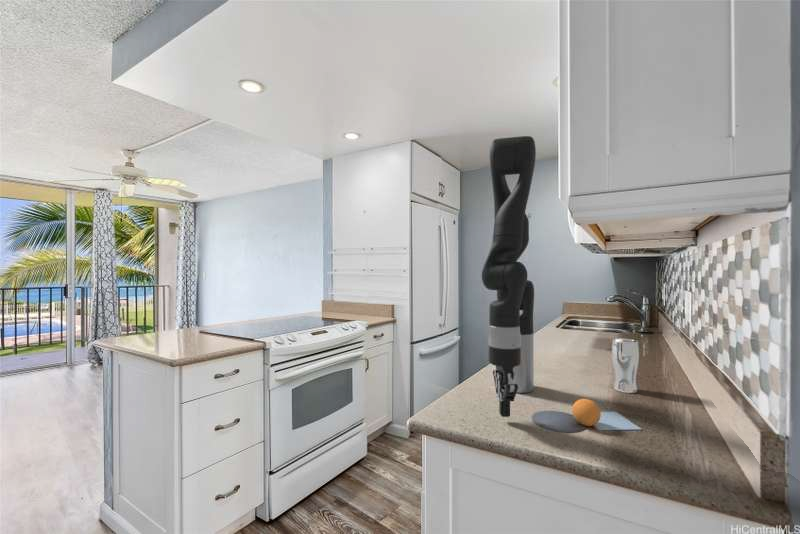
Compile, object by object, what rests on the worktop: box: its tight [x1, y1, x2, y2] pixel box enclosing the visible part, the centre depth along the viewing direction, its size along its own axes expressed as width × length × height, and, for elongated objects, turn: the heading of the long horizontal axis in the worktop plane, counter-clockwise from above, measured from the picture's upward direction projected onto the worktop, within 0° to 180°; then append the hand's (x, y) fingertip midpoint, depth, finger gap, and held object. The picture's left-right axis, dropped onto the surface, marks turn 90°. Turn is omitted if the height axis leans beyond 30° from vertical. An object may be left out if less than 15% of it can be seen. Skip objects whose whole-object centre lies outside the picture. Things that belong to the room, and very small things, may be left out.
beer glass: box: [611, 337, 640, 394], centre depth 111 cm, size 7×7×15 cm
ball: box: [571, 398, 601, 427], centre depth 87 cm, size 6×6×6 cm
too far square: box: [592, 411, 642, 431], centre depth 89 cm, size 10×10×1 cm
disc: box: [531, 410, 587, 433], centre depth 89 cm, size 12×12×1 cm
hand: (504, 415), depth 89 cm, fingers closed
